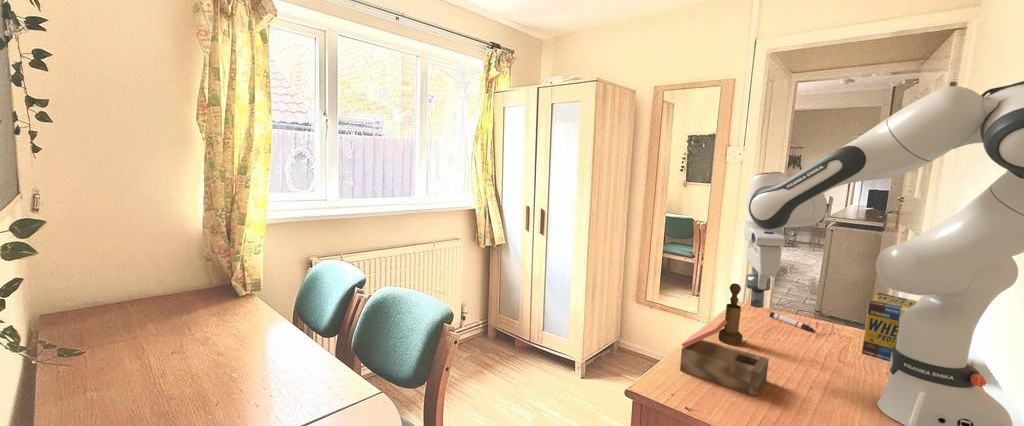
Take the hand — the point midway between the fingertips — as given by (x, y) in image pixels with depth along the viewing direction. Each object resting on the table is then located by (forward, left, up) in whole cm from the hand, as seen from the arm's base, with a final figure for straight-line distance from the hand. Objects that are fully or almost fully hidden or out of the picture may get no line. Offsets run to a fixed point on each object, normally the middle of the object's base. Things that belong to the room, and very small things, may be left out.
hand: (758, 285), depth 115 cm
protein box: (-29, -37, -22) cm, 52 cm away
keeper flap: (+8, +13, -13) cm, 20 cm away
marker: (-4, -42, -23) cm, 48 cm away
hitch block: (+4, +13, -22) cm, 26 cm away
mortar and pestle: (+8, -12, -22) cm, 27 cm away
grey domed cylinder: (0, 0, -6) cm, 6 cm away
